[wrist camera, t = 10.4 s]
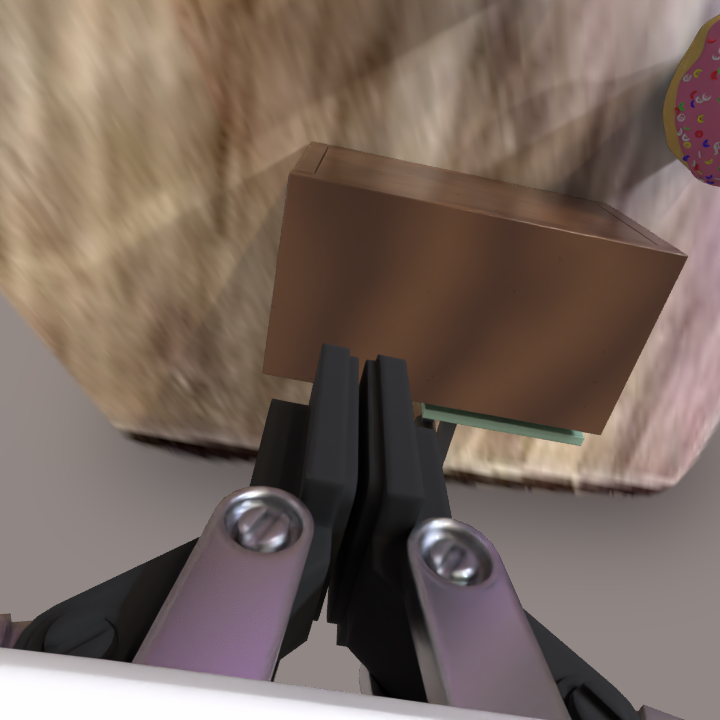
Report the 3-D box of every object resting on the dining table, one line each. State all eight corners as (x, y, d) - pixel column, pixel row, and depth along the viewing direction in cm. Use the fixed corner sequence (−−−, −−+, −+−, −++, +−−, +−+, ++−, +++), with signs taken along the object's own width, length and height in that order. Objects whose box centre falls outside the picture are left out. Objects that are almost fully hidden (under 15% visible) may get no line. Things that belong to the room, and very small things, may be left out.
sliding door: (395, 412, 41) (399, 492, 33) (415, 339, 38) (424, 408, 30) (516, 434, 41) (547, 517, 34) (544, 364, 39) (585, 437, 31)
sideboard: (287, 306, 38) (260, 382, 29) (312, 140, 33) (289, 172, 24) (547, 355, 39) (597, 443, 30) (608, 203, 34) (688, 256, 25)
